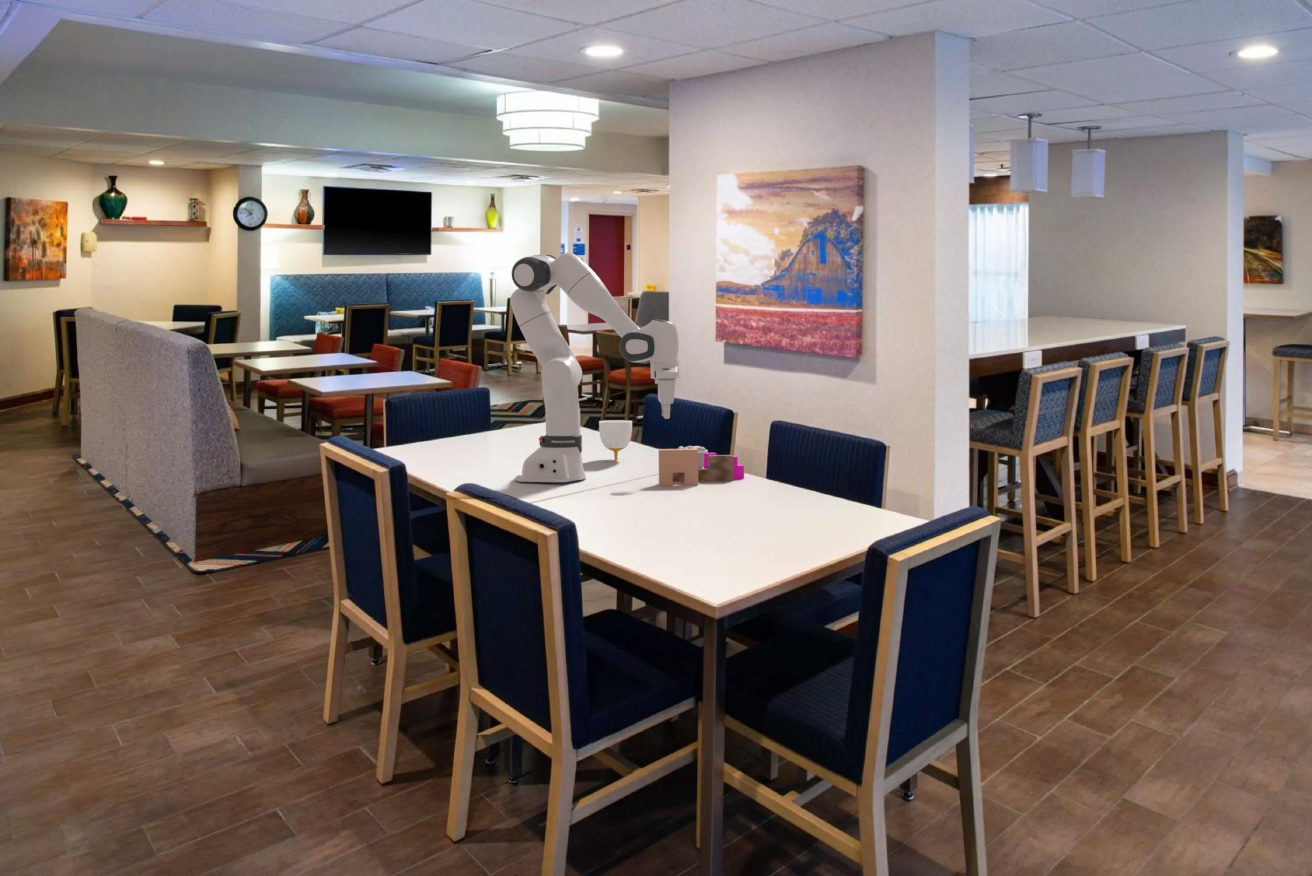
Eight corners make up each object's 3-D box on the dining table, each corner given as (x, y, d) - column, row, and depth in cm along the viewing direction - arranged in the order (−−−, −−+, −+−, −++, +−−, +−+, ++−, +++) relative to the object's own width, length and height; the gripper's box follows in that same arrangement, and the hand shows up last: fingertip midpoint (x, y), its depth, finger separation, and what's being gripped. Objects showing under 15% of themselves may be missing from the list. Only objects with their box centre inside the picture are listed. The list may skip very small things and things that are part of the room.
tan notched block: (698, 485, 300) (698, 449, 299) (659, 485, 299) (659, 450, 298) (697, 483, 303) (697, 448, 302) (658, 484, 302) (658, 449, 302)
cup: (613, 466, 350) (612, 419, 349) (639, 468, 343) (638, 420, 342) (592, 470, 341) (592, 421, 339) (619, 472, 334) (618, 422, 332)
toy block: (744, 479, 315) (744, 456, 314) (727, 480, 312) (727, 457, 311) (719, 474, 328) (719, 452, 328) (703, 475, 325) (703, 453, 325)
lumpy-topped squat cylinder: (710, 469, 340) (710, 445, 340) (702, 474, 328) (702, 448, 327) (681, 469, 343) (681, 444, 342) (672, 473, 331) (672, 448, 330)
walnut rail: (670, 481, 309) (670, 456, 308) (669, 480, 311) (669, 455, 310) (732, 480, 310) (732, 455, 309) (731, 479, 312) (731, 455, 311)
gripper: (653, 372, 308) (654, 415, 309) (656, 373, 288) (657, 419, 289) (673, 371, 308) (673, 415, 310) (677, 372, 288) (678, 419, 289)
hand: (665, 417), depth 299 cm, fingers open, 8 cm apart
